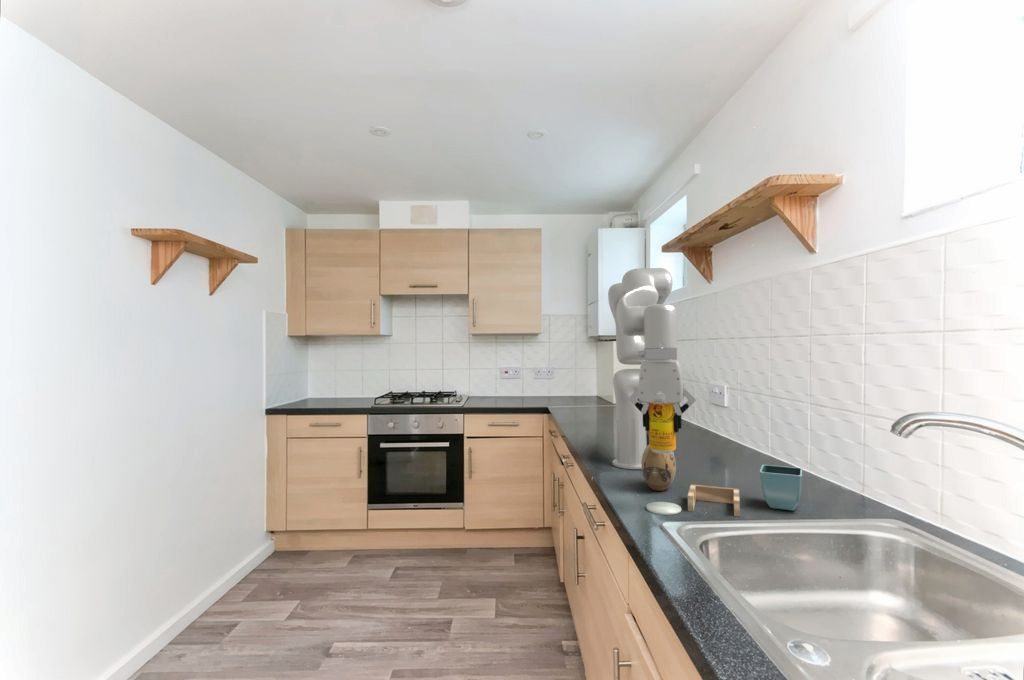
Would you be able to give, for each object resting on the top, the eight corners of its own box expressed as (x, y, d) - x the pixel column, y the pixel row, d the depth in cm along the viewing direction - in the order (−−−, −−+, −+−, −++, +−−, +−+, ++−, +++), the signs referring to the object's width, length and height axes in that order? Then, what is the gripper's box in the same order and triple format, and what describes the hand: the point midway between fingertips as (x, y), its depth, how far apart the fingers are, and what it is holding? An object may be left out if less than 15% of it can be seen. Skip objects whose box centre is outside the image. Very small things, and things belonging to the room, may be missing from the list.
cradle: (691, 498, 127) (690, 484, 127) (739, 502, 123) (738, 488, 123) (687, 510, 118) (687, 495, 118) (739, 516, 113) (739, 501, 113)
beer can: (647, 452, 118) (645, 389, 118) (652, 448, 123) (651, 387, 123) (673, 455, 115) (672, 390, 115) (677, 450, 120) (676, 388, 121)
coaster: (649, 502, 124) (649, 500, 124) (682, 506, 121) (682, 503, 121) (644, 512, 117) (644, 510, 117) (679, 516, 114) (679, 514, 114)
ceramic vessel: (671, 499, 127) (669, 401, 127) (636, 495, 131) (634, 400, 131) (680, 482, 142) (678, 395, 142) (647, 479, 146) (646, 394, 146)
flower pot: (763, 499, 126) (762, 463, 126) (803, 504, 121) (802, 467, 121) (760, 509, 118) (759, 471, 118) (803, 515, 113) (802, 475, 114)
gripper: (621, 356, 120) (622, 431, 119) (697, 355, 113) (699, 435, 112) (627, 355, 126) (628, 426, 126) (699, 355, 119) (701, 430, 119)
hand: (662, 430), depth 119 cm, fingers closed on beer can, 6 cm apart
